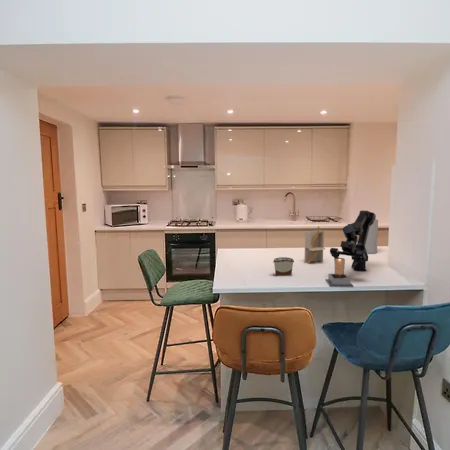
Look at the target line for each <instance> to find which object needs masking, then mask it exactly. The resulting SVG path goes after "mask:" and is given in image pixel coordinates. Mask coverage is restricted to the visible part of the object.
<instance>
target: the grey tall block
mask: <svg viewBox="0 0 450 450" xmlns="http://www.w3.org/2000/svg"><path fill="white" fill-rule="evenodd" d="M378 231H379V220H378V218H377V219H375V220H374V223H373V224H372V225H371V226H370V228H369V232H368V236H367V240H366V244H365V248H366V250H367V254H368V255H369V254H370V255H373V254H374V255H375V254H376V253H377V252H378V233H379V232H378Z"/></svg>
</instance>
